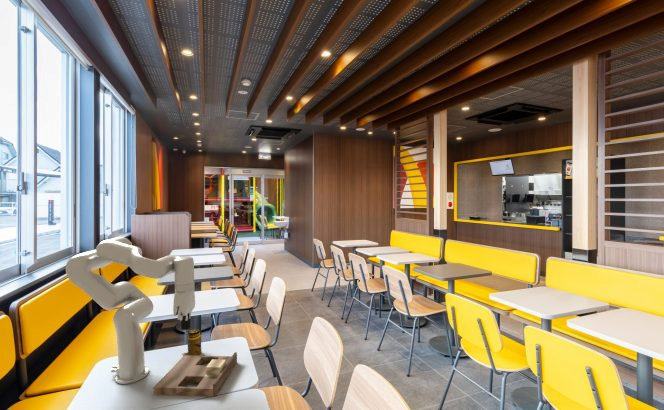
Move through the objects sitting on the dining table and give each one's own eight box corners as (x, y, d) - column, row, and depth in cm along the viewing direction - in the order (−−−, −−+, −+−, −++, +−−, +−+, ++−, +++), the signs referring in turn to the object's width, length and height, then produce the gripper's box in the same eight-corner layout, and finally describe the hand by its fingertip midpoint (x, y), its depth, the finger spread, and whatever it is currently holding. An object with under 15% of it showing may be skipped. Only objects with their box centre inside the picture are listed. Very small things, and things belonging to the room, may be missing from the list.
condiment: (203, 355, 159) (202, 331, 158) (184, 361, 154) (183, 336, 153) (200, 349, 165) (199, 326, 164) (182, 354, 160) (180, 330, 160)
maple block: (206, 375, 138) (206, 367, 137) (212, 367, 144) (212, 359, 143) (220, 375, 137) (220, 367, 137) (225, 367, 143) (225, 359, 143)
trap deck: (153, 394, 130) (153, 382, 130) (184, 361, 154) (184, 351, 153) (215, 396, 128) (215, 384, 128) (237, 362, 152) (236, 352, 152)
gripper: (184, 280, 146) (186, 321, 148) (166, 292, 131) (167, 336, 133) (201, 281, 146) (202, 321, 147) (184, 292, 131) (185, 337, 132)
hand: (185, 328), depth 140 cm, fingers closed
